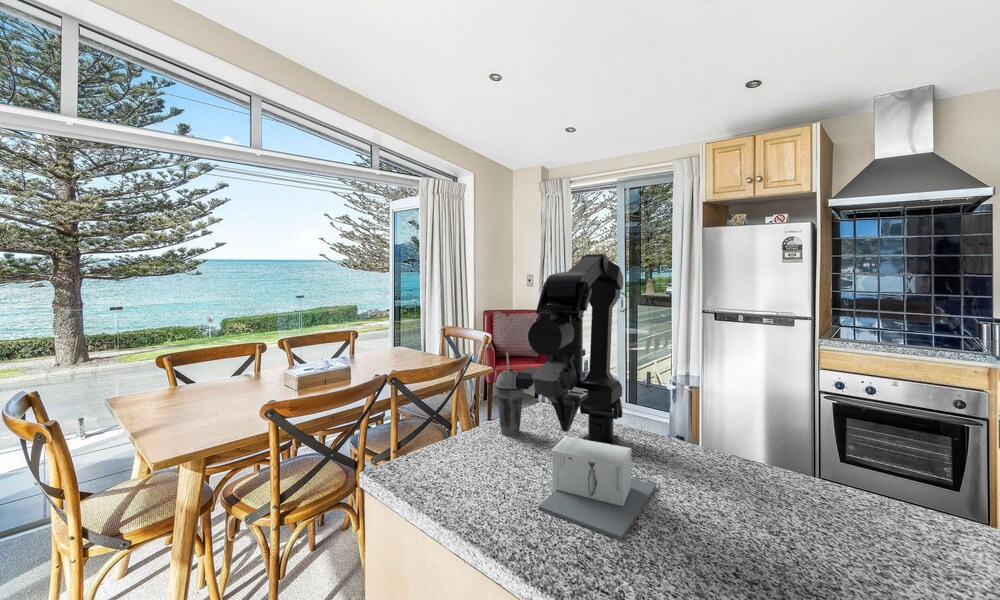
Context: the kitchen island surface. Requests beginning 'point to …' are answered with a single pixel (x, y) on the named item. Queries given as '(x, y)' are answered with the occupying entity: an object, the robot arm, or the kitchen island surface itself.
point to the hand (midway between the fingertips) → (565, 430)
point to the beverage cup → (509, 401)
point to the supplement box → (592, 470)
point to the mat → (600, 509)
